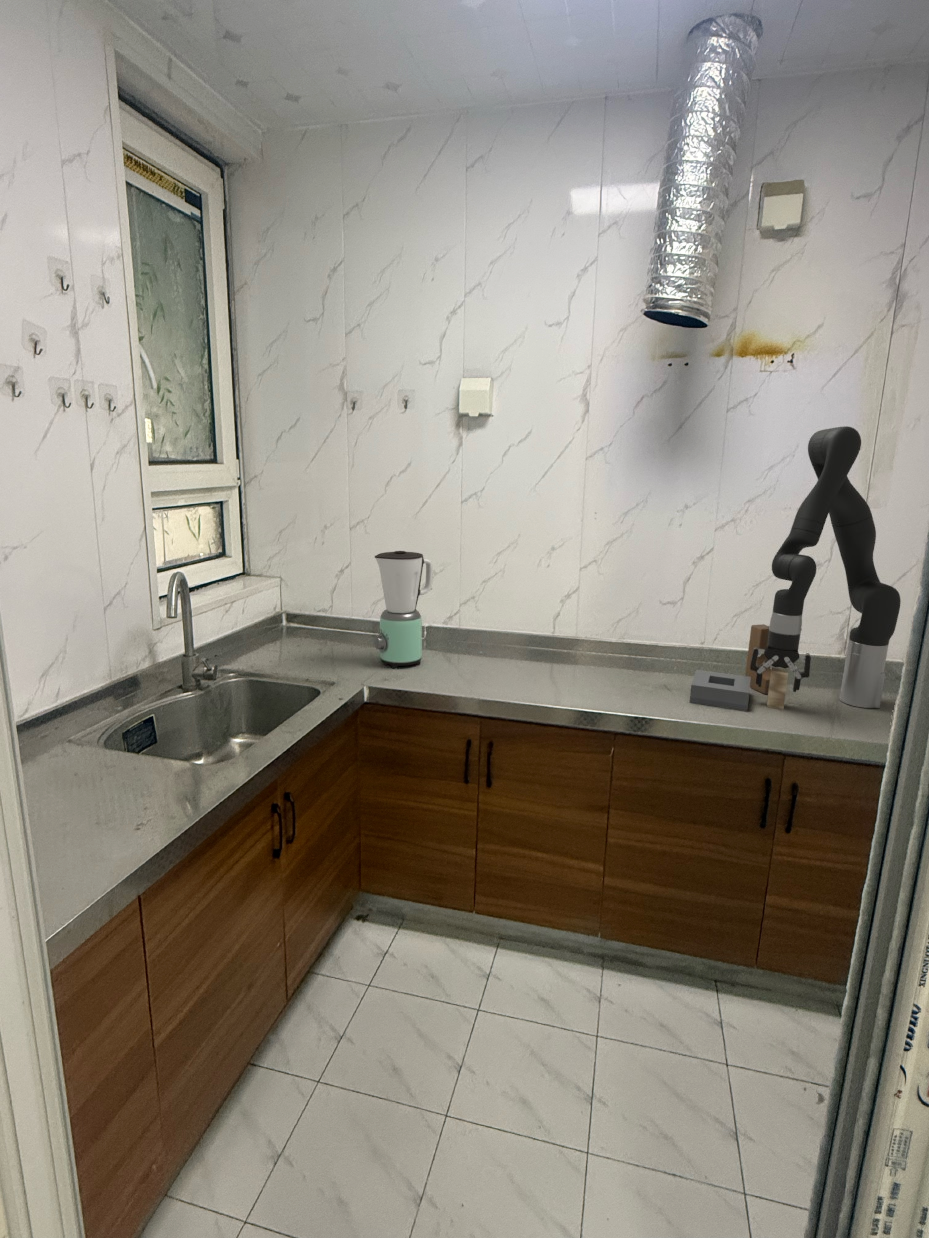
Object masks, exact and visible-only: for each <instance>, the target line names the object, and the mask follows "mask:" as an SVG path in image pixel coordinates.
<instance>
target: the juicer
mask: <svg viewBox="0 0 929 1238" xmlns="http://www.w3.org/2000/svg"><path fill="white" fill-rule="evenodd" d="M374 559H375V560H376V562H377V564H378V567H379V573H380V580H381V585H382V591H383V592H382V593H383V599H384V604H385V609H384V610H383V611H382V612H381V613H380V618H379V633H378V635H377V636H375V637H374V638H373V639H374V640H373V641H374V642H373V643H374V646H375V649H376V650H379V659H380V661H381V662H382V663H384V664H385V665H389V666H391V669H393V668H397V669H399V667H401V666H403V667H404V666H405V667H406V666H411V665H415V666H420V665H421V661H422V658H423V644H422V643H423V629H422V628H423V622H422V621H423V619H422V616H421V614H420V611H419V610H418V609H417V605H418V600H419V597H420V596H424V595H426V594H427V593H429V592H430V590H432V589H431V588H432V585H433V564H432V561H431V560H430V559H428V558H424V555H423V553H421V552H414V551H406V550H405V551H404V550H395V551H387V552H380V553H378V554H376V555H374ZM424 564H425V584H424V587H423V588H421V581H422V575H423V567H424Z"/></svg>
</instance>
